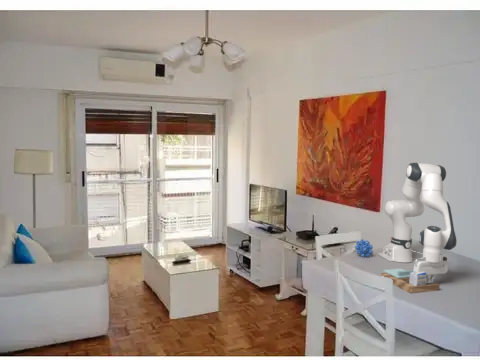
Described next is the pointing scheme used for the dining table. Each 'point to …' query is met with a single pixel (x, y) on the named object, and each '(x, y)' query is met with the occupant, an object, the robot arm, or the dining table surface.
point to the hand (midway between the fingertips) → (429, 282)
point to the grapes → (363, 248)
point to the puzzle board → (410, 288)
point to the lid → (399, 273)
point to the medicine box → (417, 278)
